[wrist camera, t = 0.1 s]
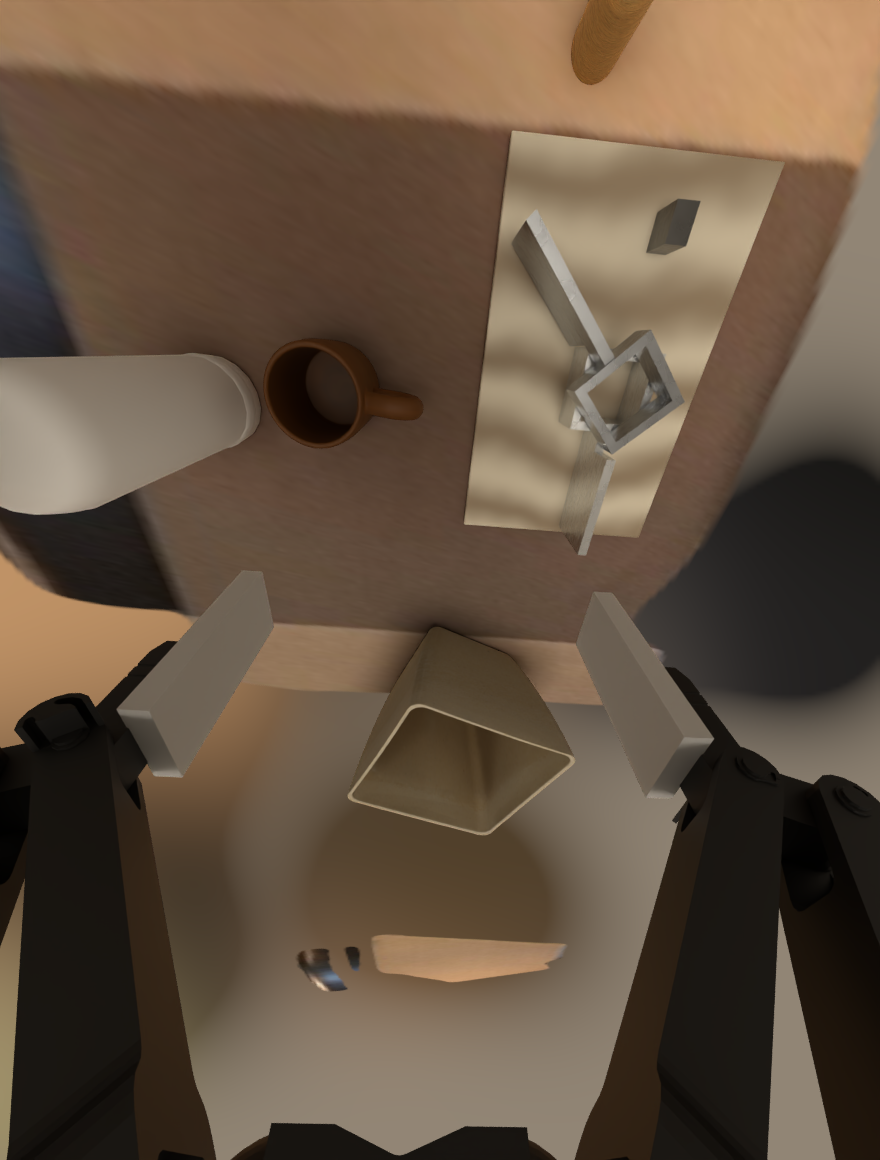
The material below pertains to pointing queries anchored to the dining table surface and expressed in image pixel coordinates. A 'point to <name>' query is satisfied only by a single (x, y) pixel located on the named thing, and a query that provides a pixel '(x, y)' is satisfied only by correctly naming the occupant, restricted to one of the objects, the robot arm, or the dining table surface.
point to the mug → (328, 392)
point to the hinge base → (591, 460)
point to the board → (602, 313)
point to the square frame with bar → (594, 340)
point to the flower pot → (460, 739)
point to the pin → (604, 36)
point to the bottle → (113, 424)
